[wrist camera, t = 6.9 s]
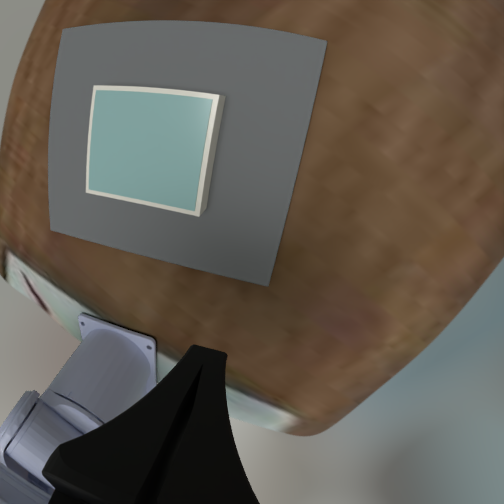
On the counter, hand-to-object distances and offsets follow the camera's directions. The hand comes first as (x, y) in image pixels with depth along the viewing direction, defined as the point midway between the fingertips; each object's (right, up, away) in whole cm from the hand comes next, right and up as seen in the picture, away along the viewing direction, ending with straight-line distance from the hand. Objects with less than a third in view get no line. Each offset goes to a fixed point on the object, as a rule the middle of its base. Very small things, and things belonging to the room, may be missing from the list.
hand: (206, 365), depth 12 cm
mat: (-4, +11, +7) cm, 14 cm away
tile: (-1, +10, +6) cm, 11 cm away
